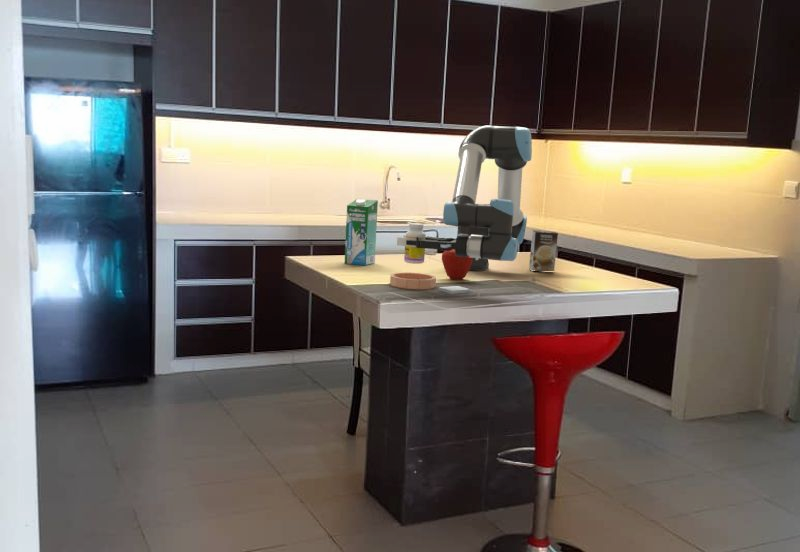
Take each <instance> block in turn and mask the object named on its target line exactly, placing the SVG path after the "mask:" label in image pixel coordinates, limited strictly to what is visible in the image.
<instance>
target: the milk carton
mask: <svg viewBox="0 0 800 552" xmlns="http://www.w3.org/2000/svg"><path fill="white" fill-rule="evenodd" d="M378 204H379V201H378V200H377V199H375V200H374V199H365V198H364V199H363V198H355V200H353V201H352V202H350V203H348V204H347V205H346V221H345V222H346V225H345V245H344V246H345V247H344V264H347V265H349V264H350V265H357V266H369V265H372V264H376V243H377V225H378V223H377V222H378V221H377V220H378Z"/></svg>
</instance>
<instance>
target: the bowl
mask: <svg viewBox="0 0 800 552" xmlns="http://www.w3.org/2000/svg"><path fill="white" fill-rule="evenodd" d="M389 285H390V286H392V287H395V288H399V289H407V290H431V289H435V288H436V286H437V277H436V276H435V275H431V274H428V273H421V272H395V273H391V274H390V281H389Z"/></svg>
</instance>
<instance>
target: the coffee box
mask: <svg viewBox="0 0 800 552" xmlns="http://www.w3.org/2000/svg"><path fill="white" fill-rule="evenodd" d="M558 235H559V233H558V232H556V231H546V230H532V236H531V243H530V244H531V246H530V255H529V264H528V270H529V269H531V270H535V271H554V272H555V267H556V266H555V265H556V255H557V247H558Z"/></svg>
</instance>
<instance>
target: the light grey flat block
mask: <svg viewBox="0 0 800 552" xmlns="http://www.w3.org/2000/svg"><path fill="white" fill-rule="evenodd" d="M438 289H439V291H443V292H446V293H450V294H452V295H456V294H455V293H467V292H470V291H471V288H467V287H463V286H460V285H451V286H450V285H449V286H441V287H440V286H439V287H438Z"/></svg>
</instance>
